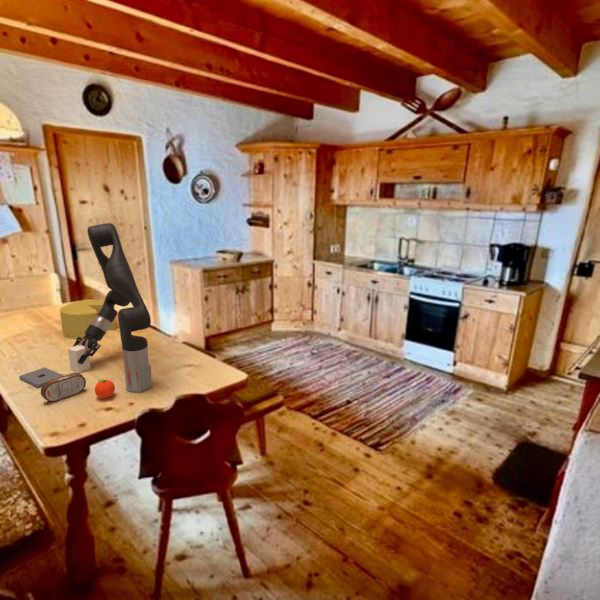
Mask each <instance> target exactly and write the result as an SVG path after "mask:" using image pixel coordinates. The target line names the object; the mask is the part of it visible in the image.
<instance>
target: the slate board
mask: <svg viewBox="0 0 600 600" xmlns="http://www.w3.org/2000/svg"><path fill="white" fill-rule="evenodd" d="M61 376H65V375H64V374H62V373H59V372H57V371H54V370H52V369H50V368H47V367H42V368H39V369H36V370H32V371H30V372H26V373H24V374H22V375H19V380H20V381H23V382H24V383H26V384H29V385H31V386H32V387H34V388H37V389H41V388H42V386H43V385H44V384H45V383H46V382H47V381H49V380H51V379H54V378H58V377H61Z"/></svg>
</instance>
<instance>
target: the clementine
mask: <svg viewBox="0 0 600 600" xmlns="http://www.w3.org/2000/svg"><path fill="white" fill-rule="evenodd" d="M115 390H116V386H115V384H114V382H113V381H111V380H110V379H104V378H102V379H99V380H98V381H97V382H96V384H95V387H94V394H95V395H96V396H97V398H100V399H108V398H110V397H112V396H113V394H115Z"/></svg>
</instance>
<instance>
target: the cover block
mask: <svg viewBox="0 0 600 600" xmlns="http://www.w3.org/2000/svg"><path fill="white" fill-rule="evenodd" d="M84 347H85V346H82V345H80V346H77V345H76V346H74V347H73V346H72V347H68V348H67V352H68V360H69V366H70V371H72V372H74V373H79V374H81V373H82V372H84V371H88V370H90V369H91V361H90V356H89V357H87V358H86V360H85V361H84V363H83V364H80V363H78V360H79V359H80V357H81V356H82V354H83V353H84V351H85V348H84ZM87 352H88V351H87ZM83 355H84V354H83Z"/></svg>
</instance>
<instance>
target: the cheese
mask: <svg viewBox="0 0 600 600" xmlns="http://www.w3.org/2000/svg"><path fill="white" fill-rule="evenodd" d="M104 301H105V300H104V299H103V300H101V299H88V300H80V301H74V302H71V303H68V304H66V305H64V306H62V307H61V308H60V309H59V313H60V321H61V329H62V334H63V338H64V337H65V338H67V339H70V340H77V338H78V337H81V338H83V337H84V336H85V335H86V334H85V331H86V329H87V328H88V326H89V325H90V324H91V322H92V321H93V319H94V318H95V317H96V316H97V315H98V313H99V312H100V310H101V309H102V307H103V304H104ZM116 321H117V320H116V318H115V319H114V320H113V322H112V323H111V325H110V327H109V329H108V330H107V331H116V330H117V322H116Z"/></svg>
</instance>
